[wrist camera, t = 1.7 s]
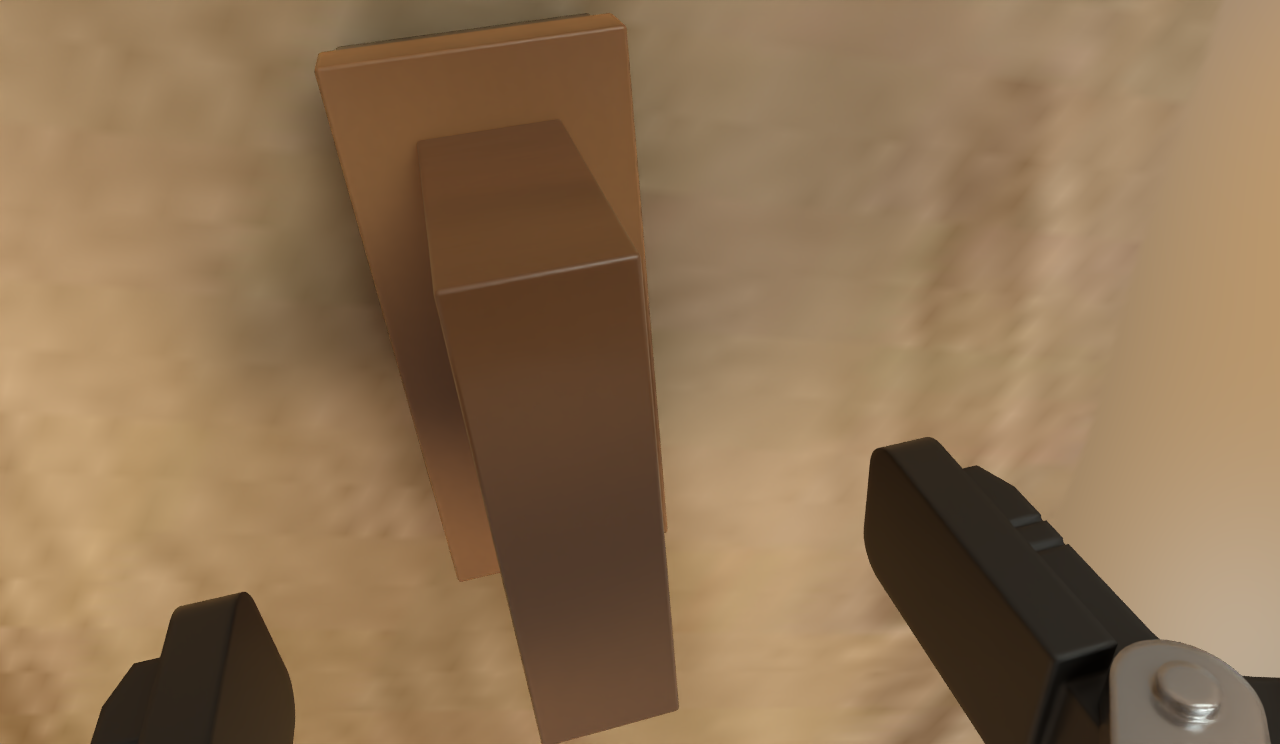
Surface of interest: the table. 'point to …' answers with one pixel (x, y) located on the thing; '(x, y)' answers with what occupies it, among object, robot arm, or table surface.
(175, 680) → the robot arm
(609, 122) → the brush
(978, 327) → the table surface
